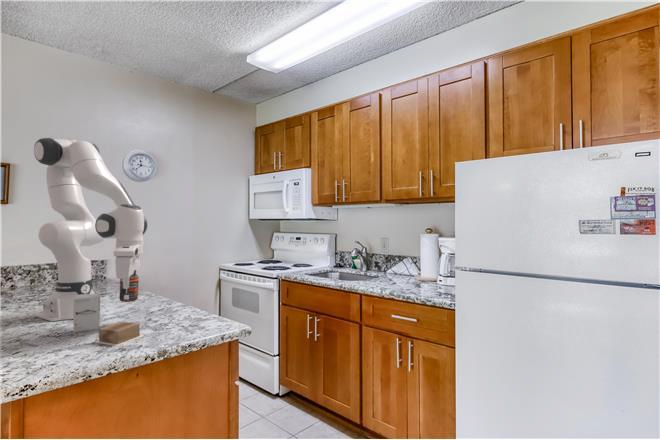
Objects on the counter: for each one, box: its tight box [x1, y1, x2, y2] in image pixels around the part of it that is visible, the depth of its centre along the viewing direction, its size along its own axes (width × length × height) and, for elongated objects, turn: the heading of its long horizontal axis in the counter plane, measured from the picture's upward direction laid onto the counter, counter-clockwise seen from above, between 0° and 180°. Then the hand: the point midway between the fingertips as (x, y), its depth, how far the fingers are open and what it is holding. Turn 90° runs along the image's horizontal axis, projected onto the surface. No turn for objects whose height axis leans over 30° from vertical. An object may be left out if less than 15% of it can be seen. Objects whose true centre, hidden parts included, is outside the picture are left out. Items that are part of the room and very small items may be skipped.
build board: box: [93, 334, 145, 347], centre depth 116 cm, size 18×14×1 cm
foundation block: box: [98, 321, 141, 344], centre depth 114 cm, size 8×8×4 cm
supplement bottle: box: [119, 270, 140, 303], centre depth 130 cm, size 6×6×11 cm
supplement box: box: [73, 292, 102, 334], centre depth 126 cm, size 7×7×13 cm
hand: (128, 286), depth 130 cm, fingers closed on supplement bottle, 6 cm apart
